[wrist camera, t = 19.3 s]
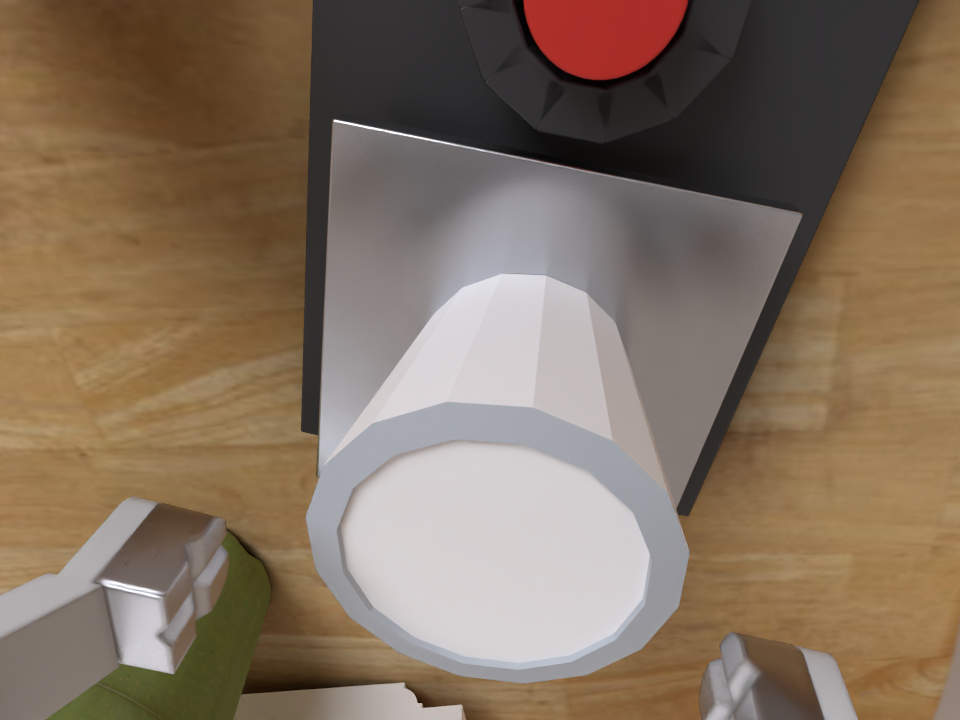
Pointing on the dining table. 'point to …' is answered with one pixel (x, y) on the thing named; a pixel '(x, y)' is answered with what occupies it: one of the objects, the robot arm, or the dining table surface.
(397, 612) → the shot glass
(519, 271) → the scale platter
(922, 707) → the dining table surface
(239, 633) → the plant pot
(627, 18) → the button
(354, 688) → the thin cream plank
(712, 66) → the scale
